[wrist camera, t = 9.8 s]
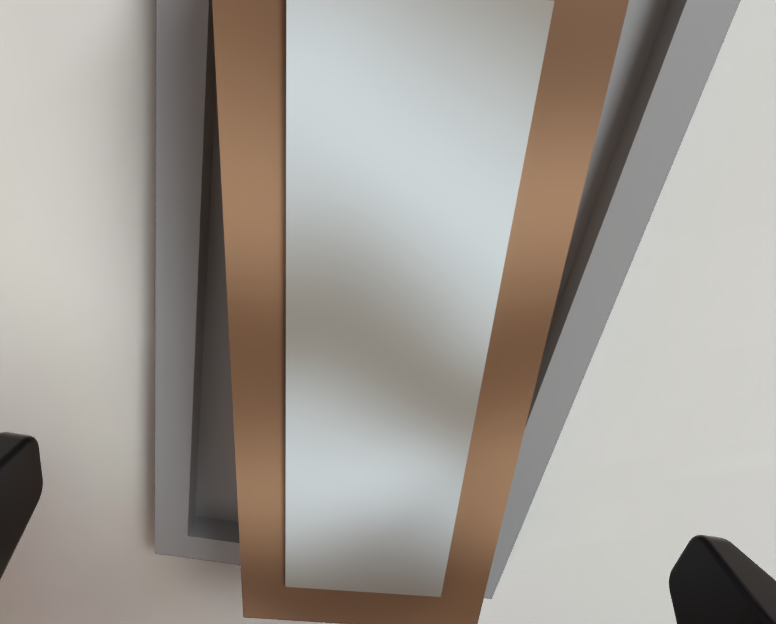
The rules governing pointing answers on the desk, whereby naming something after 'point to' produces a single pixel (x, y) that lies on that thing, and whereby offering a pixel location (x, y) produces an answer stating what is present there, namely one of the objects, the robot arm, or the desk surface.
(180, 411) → the display tray
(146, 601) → the desk surface
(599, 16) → the wooden box
